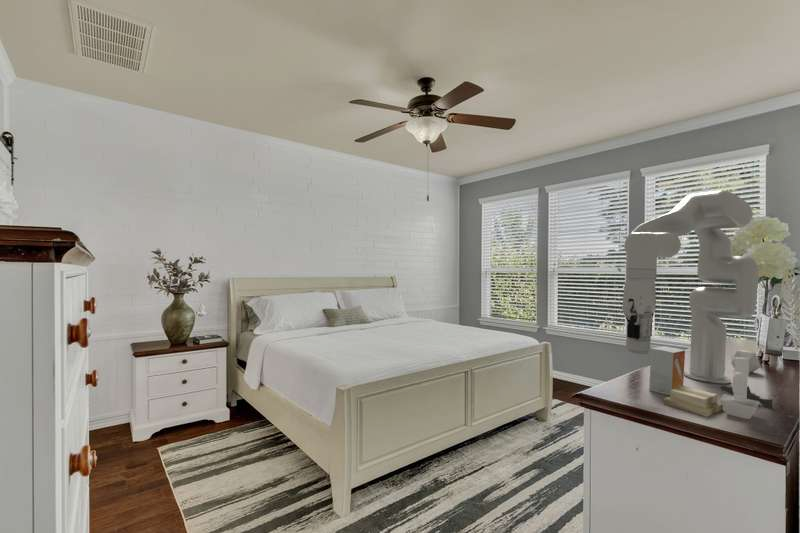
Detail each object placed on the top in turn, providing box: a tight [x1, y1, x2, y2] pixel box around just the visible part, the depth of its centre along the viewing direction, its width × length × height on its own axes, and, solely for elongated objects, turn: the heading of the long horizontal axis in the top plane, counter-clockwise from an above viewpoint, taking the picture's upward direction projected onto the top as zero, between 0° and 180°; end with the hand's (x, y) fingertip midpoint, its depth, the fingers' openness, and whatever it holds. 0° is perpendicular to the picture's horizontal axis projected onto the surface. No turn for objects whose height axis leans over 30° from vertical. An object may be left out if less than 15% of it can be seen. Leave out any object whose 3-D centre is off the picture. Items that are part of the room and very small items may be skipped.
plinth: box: [663, 385, 724, 417], centre depth 106 cm, size 10×10×4 cm
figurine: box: [719, 357, 761, 420], centre depth 101 cm, size 7×9×15 cm
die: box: [729, 349, 761, 374], centre depth 145 cm, size 8×9×10 cm
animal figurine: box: [719, 385, 773, 409], centre depth 112 cm, size 12×4×5 cm, turn 43°
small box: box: [648, 345, 686, 397], centre depth 119 cm, size 8×6×13 cm
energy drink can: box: [625, 305, 652, 355], centre depth 113 cm, size 6×6×15 cm
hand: (639, 336), depth 113 cm, fingers closed on energy drink can, 6 cm apart
